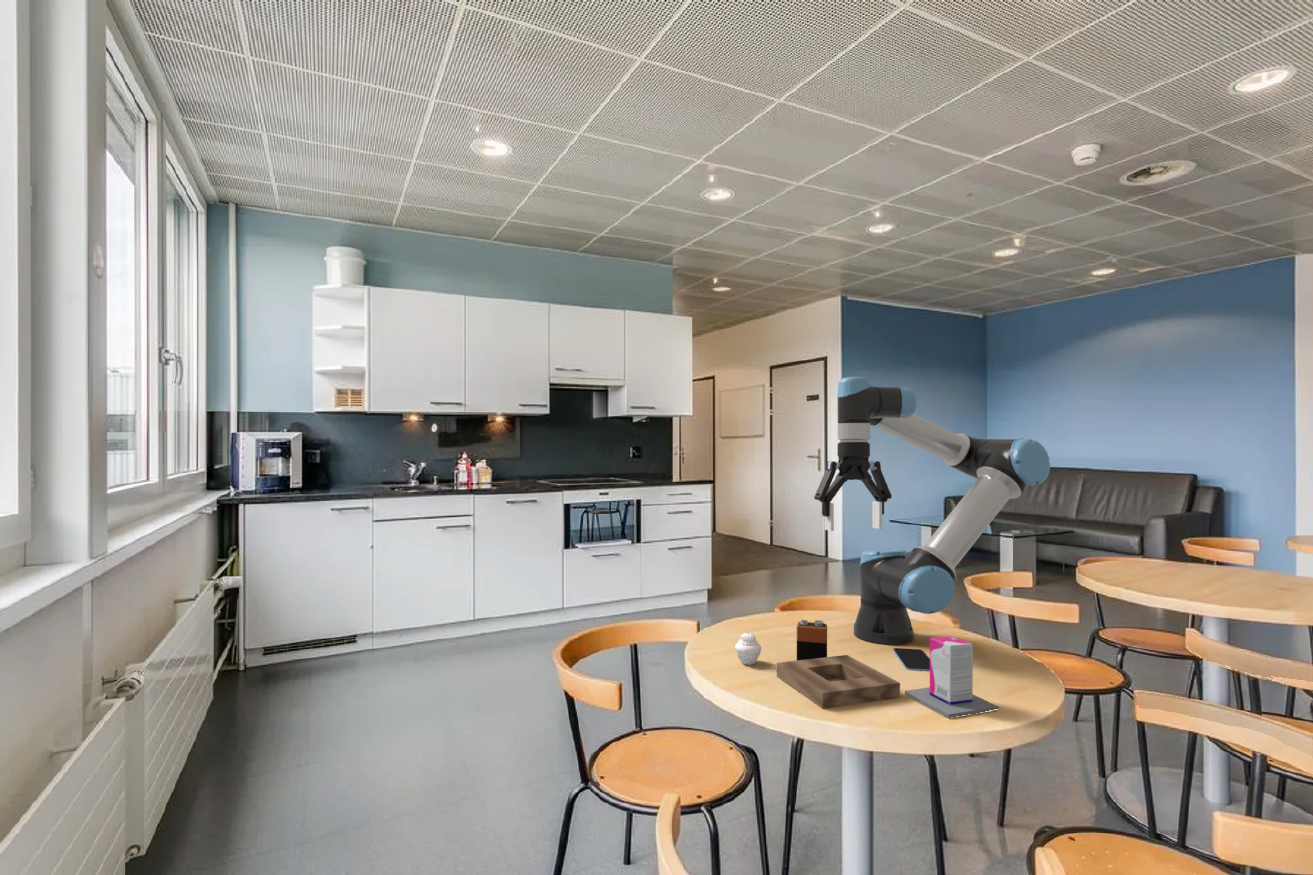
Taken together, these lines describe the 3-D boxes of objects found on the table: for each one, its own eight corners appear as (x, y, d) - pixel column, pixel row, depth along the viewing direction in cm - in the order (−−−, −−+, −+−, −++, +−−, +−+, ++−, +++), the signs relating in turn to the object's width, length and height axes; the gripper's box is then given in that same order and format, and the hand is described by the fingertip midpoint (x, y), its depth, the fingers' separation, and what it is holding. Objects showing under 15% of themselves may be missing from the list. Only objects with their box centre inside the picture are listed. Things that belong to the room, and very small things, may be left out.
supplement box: (974, 701, 125) (974, 643, 125) (949, 705, 123) (949, 646, 124) (951, 691, 131) (951, 634, 131) (928, 694, 129) (928, 637, 129)
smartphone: (906, 668, 145) (891, 647, 160) (906, 672, 145) (891, 650, 160) (940, 669, 144) (922, 648, 159) (940, 673, 144) (922, 652, 159)
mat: (951, 687, 135) (951, 684, 135) (998, 710, 123) (998, 706, 123) (904, 694, 131) (904, 690, 131) (948, 718, 119) (948, 714, 119)
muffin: (730, 660, 151) (730, 630, 151) (753, 657, 153) (753, 627, 154) (742, 668, 146) (742, 637, 146) (766, 665, 148) (766, 635, 148)
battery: (826, 668, 146) (826, 624, 146) (796, 665, 148) (796, 622, 148) (827, 662, 150) (827, 619, 150) (797, 659, 152) (797, 617, 152)
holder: (846, 668, 146) (846, 654, 146) (899, 697, 129) (899, 682, 129) (776, 676, 141) (776, 662, 141) (822, 708, 124) (822, 693, 124)
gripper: (886, 441, 162) (886, 525, 162) (800, 441, 154) (799, 529, 154) (906, 441, 155) (906, 529, 155) (817, 440, 147) (817, 533, 147)
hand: (853, 529), depth 154 cm, fingers open, 13 cm apart
